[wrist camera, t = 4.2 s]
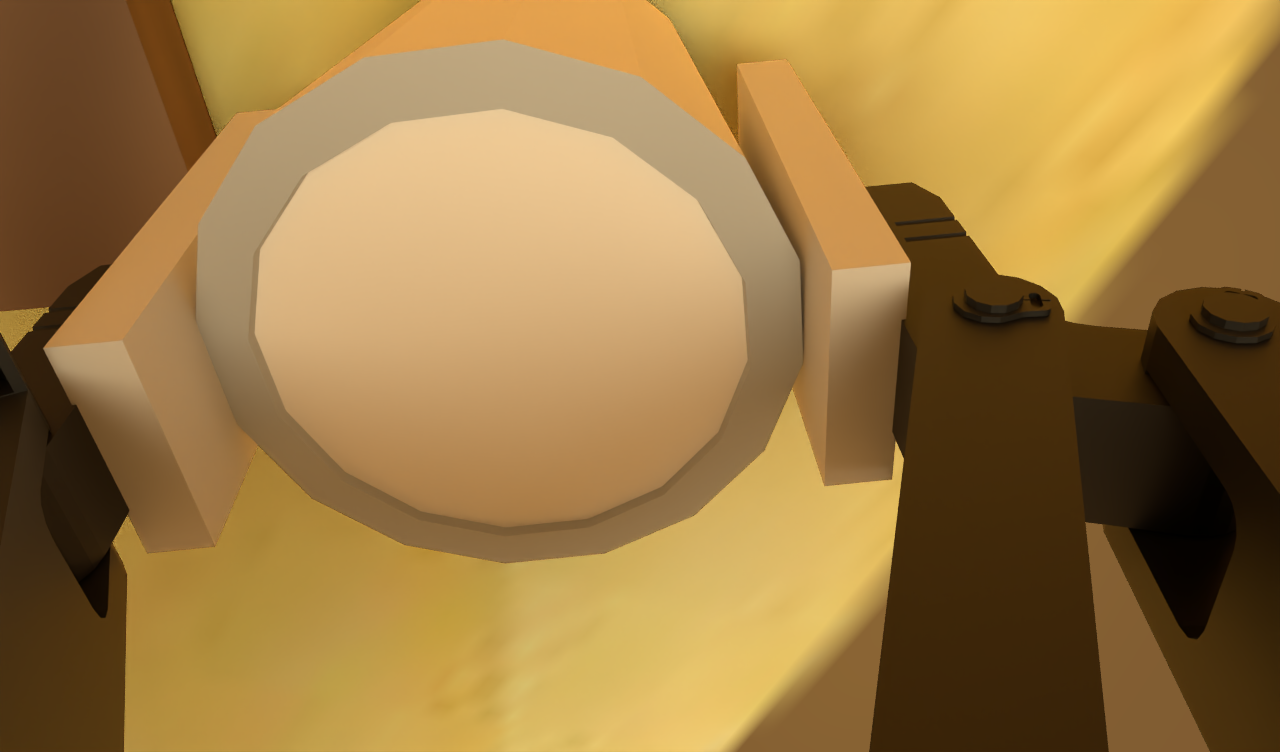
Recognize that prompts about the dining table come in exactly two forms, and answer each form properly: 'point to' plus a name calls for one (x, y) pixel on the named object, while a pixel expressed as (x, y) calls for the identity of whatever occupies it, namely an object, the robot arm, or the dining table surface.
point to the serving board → (88, 135)
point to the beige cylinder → (503, 283)
